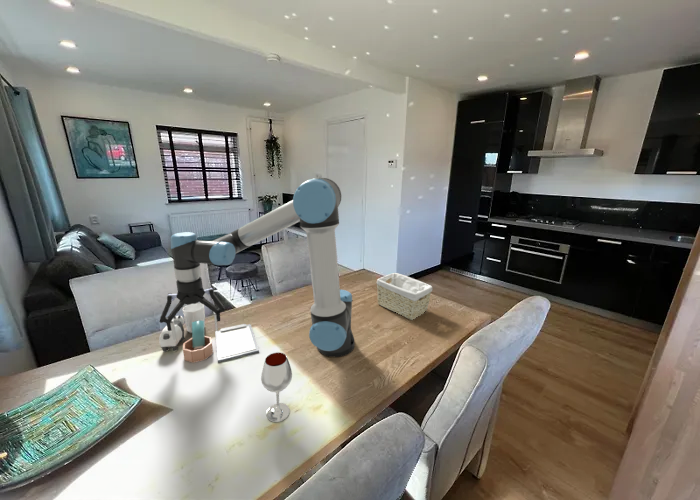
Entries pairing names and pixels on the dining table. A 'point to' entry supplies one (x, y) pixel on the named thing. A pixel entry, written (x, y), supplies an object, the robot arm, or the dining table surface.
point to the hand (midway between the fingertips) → (196, 333)
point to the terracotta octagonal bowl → (197, 351)
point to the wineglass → (276, 383)
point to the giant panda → (167, 337)
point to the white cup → (193, 314)
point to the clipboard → (235, 342)
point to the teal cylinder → (198, 335)
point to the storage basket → (403, 295)
